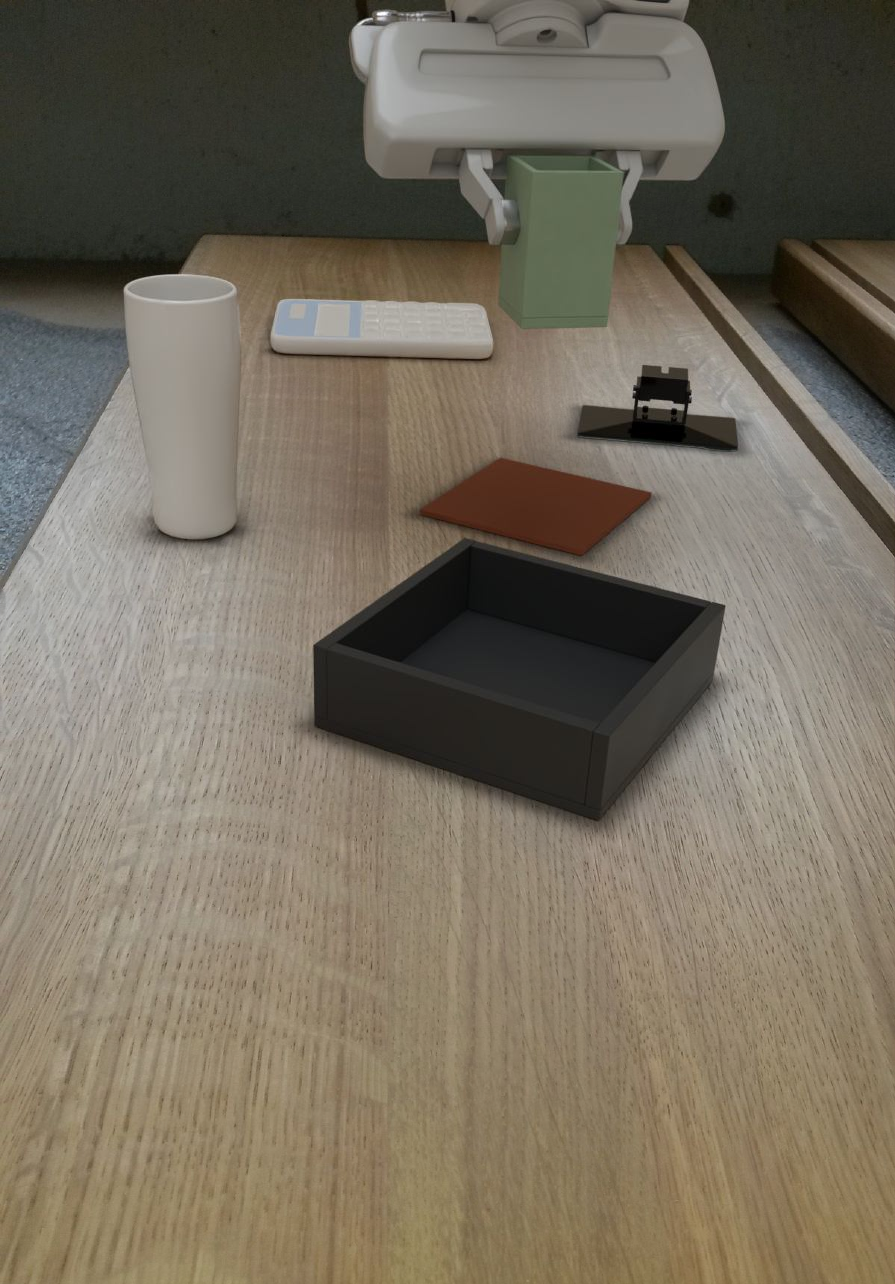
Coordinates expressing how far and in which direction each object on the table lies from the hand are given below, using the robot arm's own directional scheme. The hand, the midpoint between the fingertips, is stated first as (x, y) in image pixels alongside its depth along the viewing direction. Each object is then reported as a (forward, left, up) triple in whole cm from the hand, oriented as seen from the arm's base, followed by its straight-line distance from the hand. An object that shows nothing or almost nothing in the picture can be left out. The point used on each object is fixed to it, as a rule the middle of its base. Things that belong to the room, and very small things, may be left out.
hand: (562, 239), depth 74 cm
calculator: (+34, -38, -20) cm, 55 cm away
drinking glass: (+21, +7, -20) cm, 30 cm away
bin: (-7, +16, -19) cm, 26 cm away
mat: (+4, -9, -19) cm, 22 cm away
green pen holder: (0, 0, -4) cm, 4 cm away
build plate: (+3, -29, -20) cm, 35 cm away
